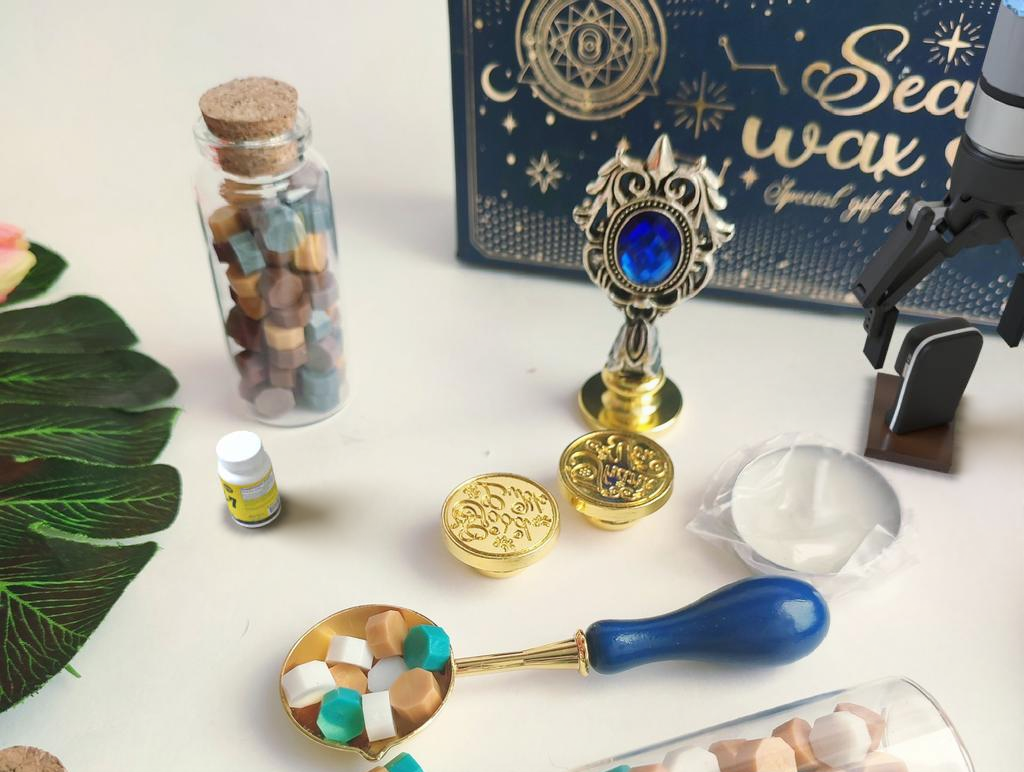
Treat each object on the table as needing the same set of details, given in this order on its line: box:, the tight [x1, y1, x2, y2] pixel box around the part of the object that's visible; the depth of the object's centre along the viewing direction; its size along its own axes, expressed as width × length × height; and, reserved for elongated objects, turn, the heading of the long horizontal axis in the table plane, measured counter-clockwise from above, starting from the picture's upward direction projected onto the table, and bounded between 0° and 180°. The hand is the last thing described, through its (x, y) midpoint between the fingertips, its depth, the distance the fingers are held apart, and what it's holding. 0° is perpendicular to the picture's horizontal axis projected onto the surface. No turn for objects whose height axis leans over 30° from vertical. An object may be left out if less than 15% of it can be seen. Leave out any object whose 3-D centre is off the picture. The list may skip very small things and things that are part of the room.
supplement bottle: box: [216, 430, 282, 528], centre depth 98 cm, size 5×5×8 cm
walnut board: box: [863, 371, 956, 474], centre depth 108 cm, size 12×8×1 cm, turn 162°
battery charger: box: [884, 316, 984, 434], centre depth 103 cm, size 7×4×11 cm, turn 108°
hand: (940, 349), depth 101 cm, fingers open, 13 cm apart
